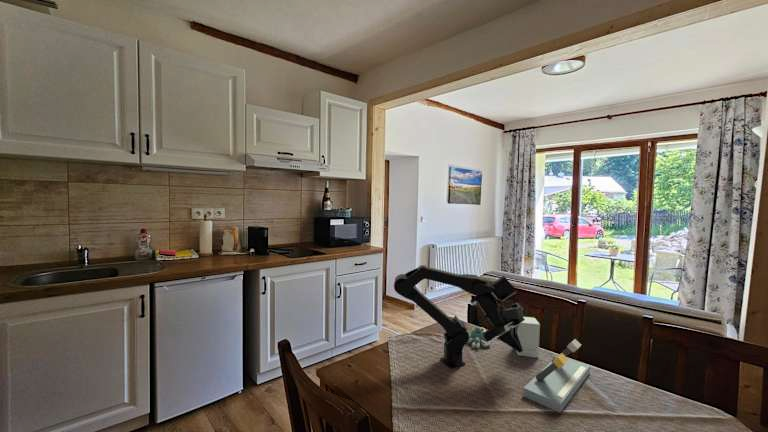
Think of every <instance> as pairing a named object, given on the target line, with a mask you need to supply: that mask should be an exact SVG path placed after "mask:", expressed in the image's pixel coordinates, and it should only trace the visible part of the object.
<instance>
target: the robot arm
mask: <svg viewBox="0 0 768 432" xmlns="http://www.w3.org/2000/svg"><path fill="white" fill-rule="evenodd" d="M425 279H426V280H429V281H433V282H437V283H441V284H446V285H450V286H454V287H457V288H458V289H461V290H463V291H465V292H467V293H469V294H470V295H471V296H470V297H471V299H470V303H471V304H472V305H474V304H475V303H477V304H478V306H479V307H480V309H481V310H482V312H483V313H484V316H483V318H484V319H485V320H487V319H488V320H489V322H490V324H491V325H492V327H490V328H489V329H486V332H484V335H483V337H484V339H485V340H486V342H488V341H490V340H491V341H492V340H493V339H494V338H496V340H499V341H501V342H502V343H504V344H506V345H508V346H509V347H511V348H512V349H513V350H515V351H516V350H517V351H518V352H522V351H523V349H522V346H521V343H520V340H519V337H518V334H517V330H518V327H519V325H518V324H519V323H521V322H522V321H524V320H525V319H524V318H523V317H525V315H524V312H523V311H525V309H524V307H523V306H522V305H520V303H519V302H515V303H512V304H511V307H508V308H506V307H505V306H504V305H500V304H499V303H498V301H502V302H504V301H505V300H506V299H508V298H510V297H511V296H513V295H515V294H516V293H517V290H516V288H515V286H514V285H512V283H510V281H509V280H508V279H507V278H506V276H505V275H502V276H500V277H499V278H498V279H497V280H495V281H494V282H492V283H490V282H488V281H485V280H483V279H481V278H480V277H479V276H478V275H477V274H468V273H467V274H465V273H464V274H459V273H453V272H449V271H445V270H440V269H438V268H434V267H430V266H426V265H424V264H421V265H419V266H418V267H417V268H414V269H412V270H409V271H407V272H406V273H402V274H401V273H400V274H398V275H396V276H395V278H394V282H393V288H394V291H395V292H396V294H398V295H400V296H401V297H403V298H405V299H407V300H410V301H411V302H413V303H415V305H417V306H418V307H419V308H420V309H422V310H423V311H424V313H426V314H427V315H429V317H431V318H432V320H434V321H435V322H436V323H438V325H440V326H441V328H443V329H444V331H445V333H443V337H444V343H443V345H444V346H443V357H439V360H440V361H441V362H442V363H443V364H444V365H446V366H447V367H448V368H450V369H452V368H459V367H461V366H465V365H466V362H465V361H463V349H464V347H465V345H466V344H468V343H467V342H468V341H469V332H468V328H467V326H466V324H465V322H464V321H463V320H461V319H459V317H458V316H457V315H454V316H453V317H451V316H449V315H448V314H446V313H445V312H444V311H443V310H442V309H441V308H440V307H438V306H437V305H436V304H435V303H434V302H432V301H431V300H430V299H429V298H428V297H427V296H426V295H424V294H423V293H422V292H421V291H420V290H419V289H418V287H417V285H418V284H420V282H421V281H423V280H425ZM516 325H518V326H516ZM515 326H516V327H515ZM497 336H498V337H497Z"/></svg>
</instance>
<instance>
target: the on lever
mask: <svg viewBox="0 0 768 432" xmlns="http://www.w3.org/2000/svg"><path fill="white" fill-rule="evenodd" d="M581 346H582V344H581V343H580V342H579V341H578V340H577V339H576V338H574V339H573V340H572V341H571V342H569V343H568V345H566V348H565V349H564V350H562V352H561V353H563V354H564V355H565V357H566V358H568V356H569V355H570V354H571V353H576V352H577V350H578V349H579V348H581ZM559 355H560V354H558V356H559ZM556 356H557V355H556ZM556 356H555V357H554V358H553V359H552V360H551V361H553V360H554V359H555V358H556ZM558 356H557V357H558ZM552 363H553V362H552Z"/></svg>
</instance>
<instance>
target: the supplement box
mask: <svg viewBox="0 0 768 432" xmlns="http://www.w3.org/2000/svg"><path fill="white" fill-rule="evenodd" d="M523 318H524V319H525V320H524V321H522V322H521V323H519V324H518V325H519V327H518V330H517V334H518V337H519V340H520V343H521V346H522V349H523V351H522V352H518V351H517V350H515V352H516V354H517V356H519V357H520V356H521V357H528V358H529V357H530V358H539V352H540V351H539V349H540V330H541V329H540V328H541V324H540V322H539V321H538V320H537V319H536V318H535V317H531V316H523ZM518 325H516V326H518ZM516 326H515V327H516Z"/></svg>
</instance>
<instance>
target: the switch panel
mask: <svg viewBox="0 0 768 432" xmlns="http://www.w3.org/2000/svg"><path fill="white" fill-rule="evenodd" d="M558 355H559V354H558ZM558 355H556V356H555V357H557V356H558ZM566 358H567V359H568V362H567V363H566V364H565V365H563V366H562V367H561V368H560V369H559V368H557V369H555V370H554V371H553V372H552V373H550V374H549V375H548V376H547V377H546V378H545V379H544V380H543V381H541V382H539V381H538V380H537V379H536V375H535V376H534V377H533V378H532V379H531V380H530V381H529V382H528V383H527V384H526V385H525V386H524V387H523V392H522V393H523V394H522V395H523V397H525V398H526V399H528V400H531V401H533V402H536V403H538V404H540V405H542V406H545V407H547V408H548V409H551V410H554V411H555V412H556V413H562V411H563V410H564V409H565V407H566V406H567V404H568V403H569V402H570V400H572V398H573V396H574V395H575V393H576V392H577V391H578V390H579V388H580V387H581V385H582V384H583V383H584V382H585V380H586V379H587V377H588V376H589V374H590V373H591V365H589V364H585V363H583V362H579V361H577V360H574V359H571V358H568V357H566ZM550 364H552V360H551V361H550V362H549V363H548V364H547V365H546V366H545V367H544V368H543V369H542V370H541V371H543V370H544V369H545V368H547V367H548V366H549V365H550Z"/></svg>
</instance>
